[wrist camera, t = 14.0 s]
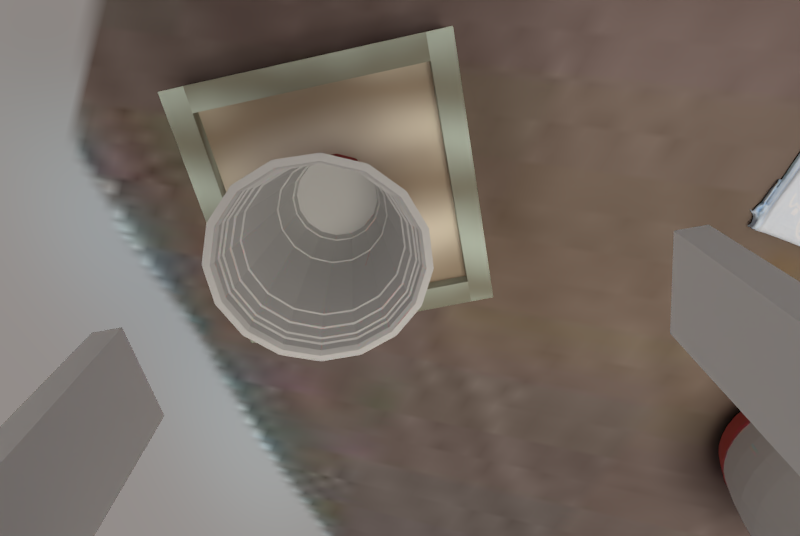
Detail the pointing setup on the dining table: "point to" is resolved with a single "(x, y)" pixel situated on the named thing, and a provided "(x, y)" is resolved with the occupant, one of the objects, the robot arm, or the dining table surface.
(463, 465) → the dining table surface
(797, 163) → the white flat piece
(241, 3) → the dining table surface
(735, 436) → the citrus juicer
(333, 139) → the stand
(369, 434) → the dining table surface
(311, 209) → the plastic cup
